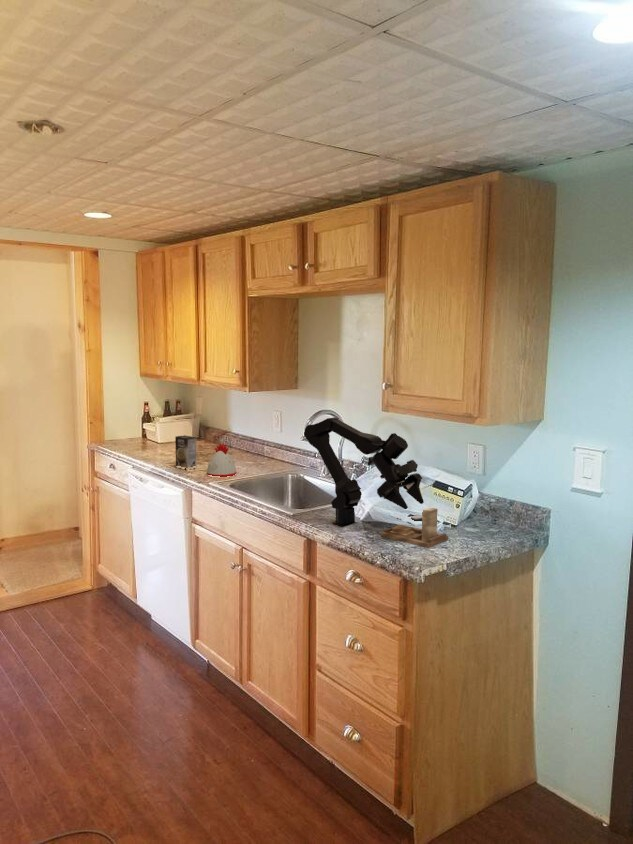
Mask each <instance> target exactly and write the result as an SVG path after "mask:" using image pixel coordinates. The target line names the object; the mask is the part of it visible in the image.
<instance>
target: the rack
mask: <svg viewBox="0 0 633 844" xmlns="http://www.w3.org/2000/svg"><path fill="white" fill-rule="evenodd" d="M398 525H399V524H398ZM398 525H394V526H391V527H390V528H387V529H384V530H383V531H381V532H380V537H383V538H387V539H389V540H390V539H391V540H394V541H398V542H402V543H407V544H410V545H414V546H417V547H422V548H426V549H430V548H432V547H435V546H436V545H440V544H441V543H444V542H446V541H449V535H447V533H445V532H443V533H437V536H435V537H433V538H431V539H428V542H424V541H422V528H417V527H412V526H411V527H412V531H414V532H415V535H414V536H411V537H409V538H407V537H403V536H399V535H395V534H391V533H390V531H392V528H393V527H395V526H398ZM401 525H402V526H405V525H403V524H401ZM406 526H407V525H406ZM407 527H409V526H407Z"/></svg>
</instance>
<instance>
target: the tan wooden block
mask: <svg viewBox="0 0 633 844" xmlns="http://www.w3.org/2000/svg"><path fill="white" fill-rule="evenodd" d="M422 510H423V512H422V525H421V530H422V541H424V542H428V539H431V538H433V537H435V536H437V532H438V523H437V515H438V508H436V507H431V506H430V507H429V506H428V507H426V508H424V509H422Z"/></svg>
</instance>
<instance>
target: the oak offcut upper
mask: <svg viewBox="0 0 633 844" xmlns="http://www.w3.org/2000/svg"><path fill="white" fill-rule="evenodd" d="M402 525H403V524H398V526H397V525H394V526H395V527H394V526H392V527H393V528H392V527H391V528H392V532H398V533H403V534H407V533H409V532H411V531H412V526H408V527H407V525H404V526H402Z"/></svg>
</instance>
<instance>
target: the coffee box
mask: <svg viewBox="0 0 633 844" xmlns="http://www.w3.org/2000/svg"><path fill="white" fill-rule="evenodd" d="M174 442H175V467H176V466H181V467H186V468H188V467H193V466H197V436H192V435H191V436H190V435H186V434H185V435H178V436H177V435H176V436H175V440H174Z"/></svg>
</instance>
